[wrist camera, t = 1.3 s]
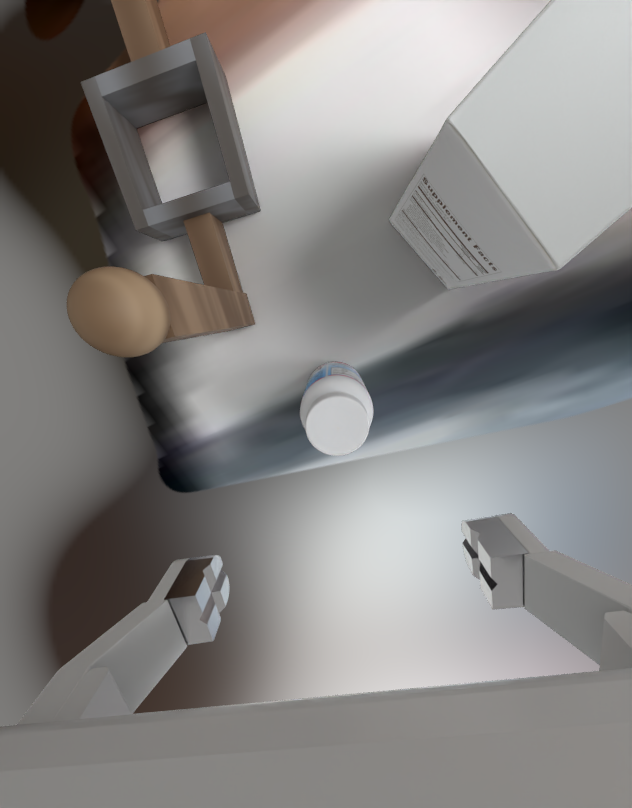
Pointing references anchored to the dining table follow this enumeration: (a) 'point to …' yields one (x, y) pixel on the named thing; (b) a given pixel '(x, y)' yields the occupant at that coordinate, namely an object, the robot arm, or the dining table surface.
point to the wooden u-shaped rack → (193, 214)
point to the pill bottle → (336, 409)
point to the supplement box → (530, 152)
